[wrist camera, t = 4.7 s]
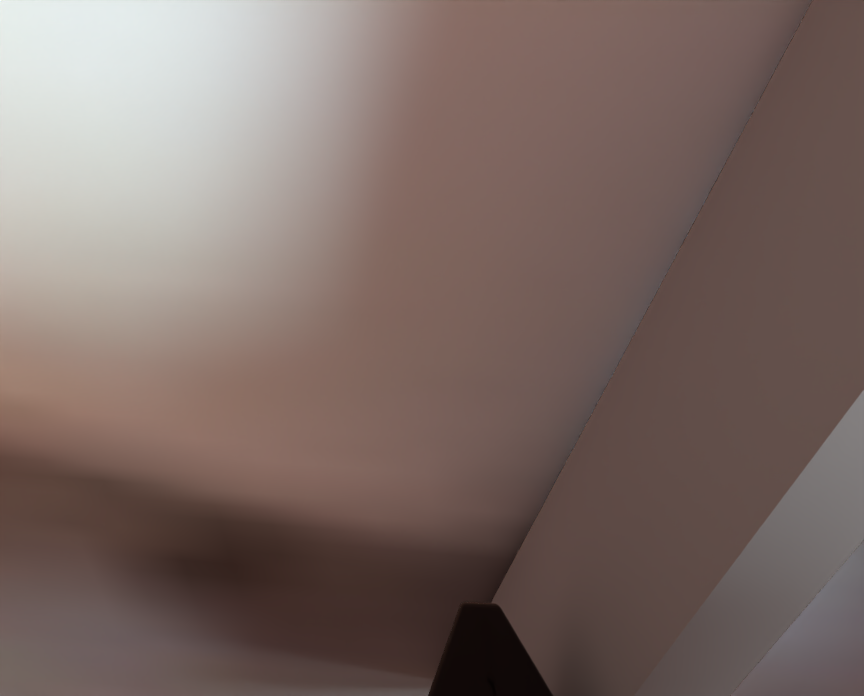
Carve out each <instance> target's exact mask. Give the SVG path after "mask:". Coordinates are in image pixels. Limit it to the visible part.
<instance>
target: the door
mask: <svg viewBox="0 0 864 696" xmlns="http://www.w3.org/2000/svg"><path fill="white" fill-rule="evenodd" d="M863 540H864V0H812V2H811V4H810V6H809V8H808V10H807V12H806V14H805V15H804V17H803V19H802V21H801V23H800V25H799V27H798V29H797V30H796V32H795V34H794V36H793V38H792V40H791V42H790V44H789V45H788V47H787V49H786V51H785V53H784V55H783V57H782V59H781V60H780V62H779V64H778V66H777V68H776V70H775V72H774V74H773V75H772V77H771V79H770V81H769V83H768V85H767V87H766V89H765V90H764V92H763V94H762V96H761V98H760V100H759V102H758V103H757V105H756V107H755V109H754V111H753V113H752V115H751V117H750V118H749V120H748V122H747V124H746V126H745V128H744V130H743V132H742V133H741V135H740V137H739V139H738V141H737V143H736V145H735V147H734V148H733V150H732V152H731V154H730V156H729V158H728V160H727V162H726V163H725V165H724V167H723V169H722V171H721V173H720V175H719V177H718V178H717V180H716V182H715V184H714V186H713V188H712V190H711V192H710V193H709V195H708V197H707V199H706V201H705V203H704V205H703V206H702V208H701V210H700V212H699V214H698V216H697V218H696V220H695V221H694V223H693V225H692V227H691V229H690V231H689V233H688V235H687V236H686V238H685V240H684V242H683V244H682V246H681V248H680V250H679V251H678V253H677V255H676V257H675V259H674V261H673V263H672V265H671V266H670V268H669V270H668V272H667V274H666V276H665V278H664V280H663V281H662V283H661V285H660V287H659V289H658V291H657V293H656V295H655V296H654V298H653V300H652V302H651V304H650V306H649V308H648V309H647V311H646V313H645V315H644V317H643V319H642V321H641V323H640V324H639V326H638V328H637V330H636V332H635V334H634V336H633V338H632V339H631V341H630V343H629V345H628V347H627V349H626V351H625V353H624V354H623V356H622V358H621V360H620V362H619V364H618V366H617V368H616V369H615V371H614V373H613V375H612V377H611V379H610V381H609V383H608V384H607V386H606V388H605V390H604V392H603V394H602V396H601V398H600V399H599V401H598V403H597V405H596V407H595V409H594V411H593V412H592V414H591V416H590V418H589V420H588V422H587V424H586V426H585V427H584V429H583V431H582V433H581V435H580V437H579V439H578V441H577V442H576V444H575V446H574V448H573V450H572V452H571V454H570V456H569V457H568V459H567V461H566V463H565V465H564V467H563V469H562V471H561V472H560V474H559V476H558V478H557V480H556V482H555V484H554V486H553V487H552V489H551V491H550V493H549V495H548V497H547V499H546V501H545V502H544V504H543V506H542V508H541V510H540V512H539V514H538V516H537V517H536V519H535V521H534V523H533V525H532V527H531V529H530V530H529V532H528V534H527V536H526V538H525V540H524V542H523V544H522V545H521V547H520V549H519V551H518V553H517V555H516V557H515V559H514V560H513V562H512V564H511V566H510V568H509V570H508V572H507V574H506V575H505V577H504V579H503V581H502V583H501V585H500V587H499V589H498V590H497V592H496V594H495V596H494V598H493V600H492V602H491V603H495V604H497V605H499V606H500V607H501V609H502V610H503V612H504V614H505V615H506V617H507V619H508V620H509V622H510V624H511V625H512V627H513V629H514V631H515V632H516V634H517V636H518V637H519V639H520V641H521V642H522V644H523V646H524V647H525V649H526V651H527V652H528V654H529V656H530V657H531V659H532V661H533V662H534V664H535V666H536V667H537V669H538V671H539V672H540V674H541V676H542V677H543V679H544V681H545V683H546V684H547V686H548V688H549V689H550V691H551V693H552V694H553V696H730V695H731V694H732V693H733V692H734V691H735V689H736V688H737V687H738V686H739V685H740V684H741V682H742V681H743V680H744V679H745V678H746V677H747V675H748V674H749V673H750V672H751V671H752V670H753V668H754V667H755V666H756V665H757V664H758V663H759V661H760V660H761V659H762V658H763V657H764V656H765V654H766V653H767V652H768V651H769V650H770V649H771V647H772V646H773V645H774V644H775V643H776V642H777V640H778V639H779V638H780V637H781V636H782V635H783V633H784V632H785V631H786V630H787V629H788V628H789V626H790V625H791V624H792V623H793V622H794V621H795V619H796V618H797V617H798V616H799V615H800V614H801V612H802V611H803V610H804V609H805V608H806V607H807V605H808V604H809V603H810V602H811V601H812V600H813V599H814V597H815V596H816V595H817V594H818V593H819V592H820V590H821V589H822V588H823V587H824V586H825V585H826V583H827V582H828V581H829V580H830V579H831V578H832V576H833V575H834V574H835V573H836V572H837V571H838V569H839V568H840V567H841V566H842V565H843V564H844V562H845V561H846V560H847V559H848V558H849V557H850V555H851V554H852V553H853V552H854V551H855V550H856V548H857V547H858V546H859V545H860V544H861V543H862V541H863Z"/></svg>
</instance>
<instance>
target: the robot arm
mask: <svg viewBox="0 0 864 696" xmlns="http://www.w3.org/2000/svg"><path fill="white" fill-rule="evenodd" d="M428 696H553V694H552V693H551V691H550V689H549V688H548V686H547V684H546V683H545V681H544V679H543V677H542V676H541V674H540V672H539V671H538V669H537V667H536V666H535V664H534V662H533V661H532V659H531V657H530V656H529V654H528V652H527V651H526V649H525V647H524V646H523V644H522V642H521V641H520V639H519V637H518V636H517V634H516V632H515V631H514V629H513V627H512V625H511V624H510V622H509V620H508V619H507V617H506V615H505V614H504V612H503V610H502V609H501V607H500V606H499V605H497V604H495V603H483V602H463V603H462V604H461V605H460V607H459V610H458V612H457V615H456V618H455V621H454V624H453V627H452V629H451V632H450V635H449V638H448V641H447V644H446V646H445V649H444V652H443V655H442V658H441V661H440V663H439V666H438V669H437V672H436V675H435V678H434V680H433V683H432V686H431V689H430V692H429V695H428Z"/></svg>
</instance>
